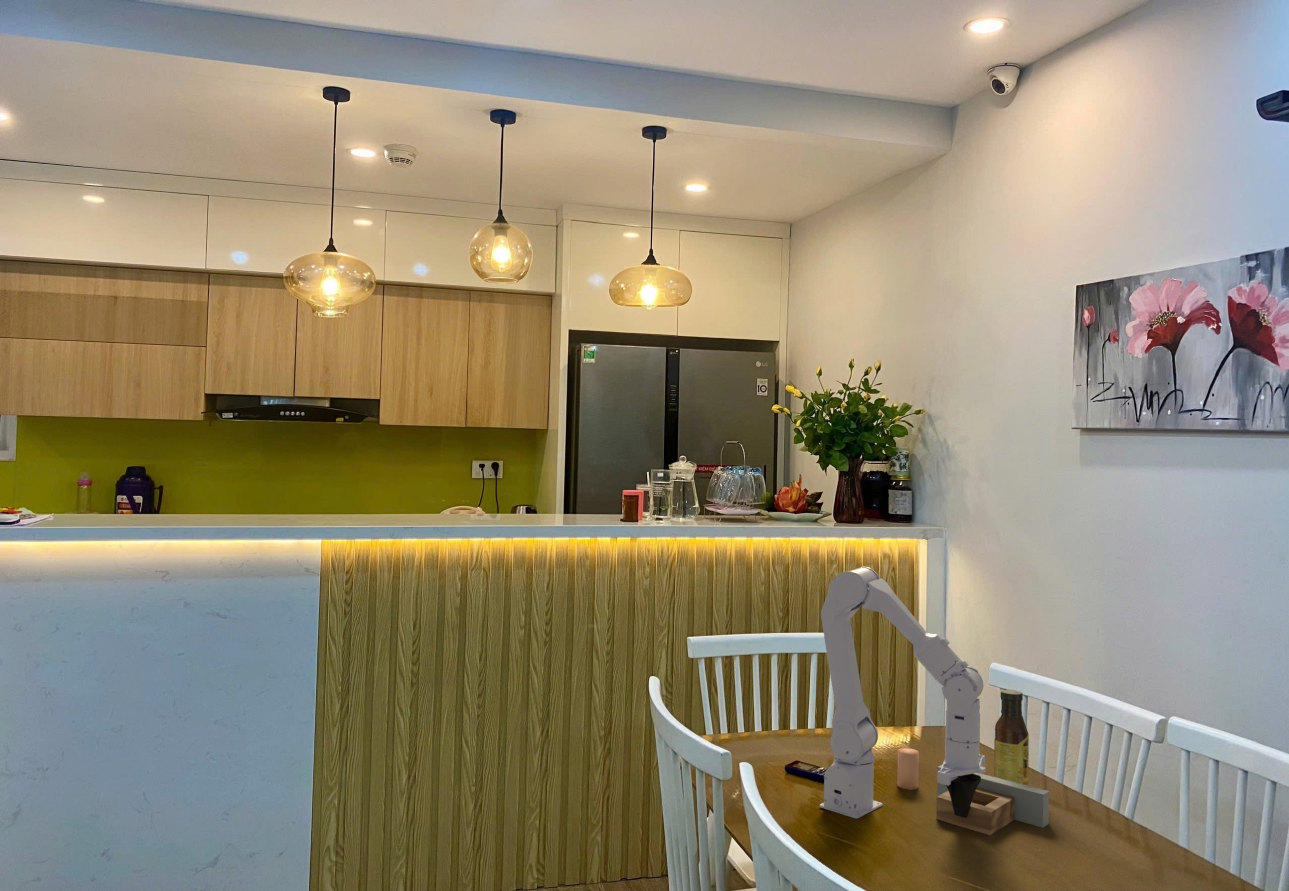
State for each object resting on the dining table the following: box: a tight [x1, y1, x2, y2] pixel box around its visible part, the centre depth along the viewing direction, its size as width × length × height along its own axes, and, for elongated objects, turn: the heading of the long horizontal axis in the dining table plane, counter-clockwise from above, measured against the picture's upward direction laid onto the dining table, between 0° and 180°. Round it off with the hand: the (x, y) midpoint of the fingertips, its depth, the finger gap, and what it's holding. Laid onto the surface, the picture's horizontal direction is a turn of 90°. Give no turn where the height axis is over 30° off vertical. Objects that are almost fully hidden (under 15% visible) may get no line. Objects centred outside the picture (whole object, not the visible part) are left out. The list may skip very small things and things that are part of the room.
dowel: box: [896, 747, 920, 791], centre depth 187 cm, size 4×4×7 cm
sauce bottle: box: [993, 689, 1030, 786], centre depth 184 cm, size 7×6×20 cm
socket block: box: [935, 788, 1015, 836], centre depth 171 cm, size 10×10×4 cm
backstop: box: [936, 764, 1050, 829], centre depth 175 cm, size 2×20×6 cm, turn 46°
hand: (961, 815), depth 166 cm, fingers closed
